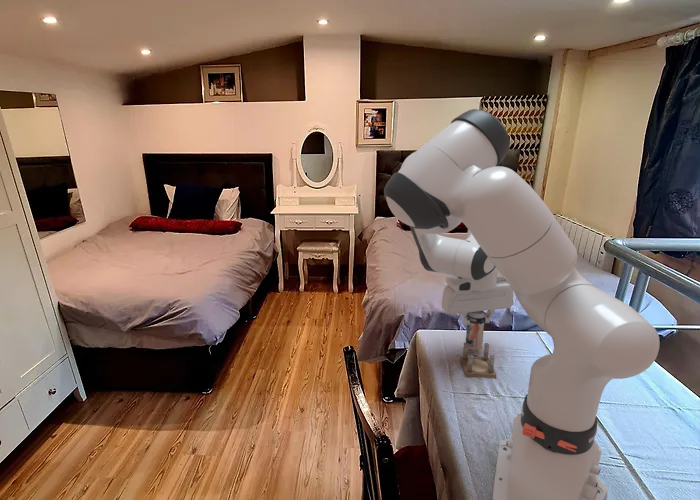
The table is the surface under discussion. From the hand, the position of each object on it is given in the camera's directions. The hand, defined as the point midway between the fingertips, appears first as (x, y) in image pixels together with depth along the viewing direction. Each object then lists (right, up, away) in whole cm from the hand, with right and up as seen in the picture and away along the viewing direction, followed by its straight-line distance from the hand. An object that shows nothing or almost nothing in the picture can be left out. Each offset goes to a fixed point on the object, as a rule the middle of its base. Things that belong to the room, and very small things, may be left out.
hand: (475, 323), depth 107 cm
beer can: (0, -8, +3) cm, 8 cm away
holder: (-1, -12, -4) cm, 12 cm away
